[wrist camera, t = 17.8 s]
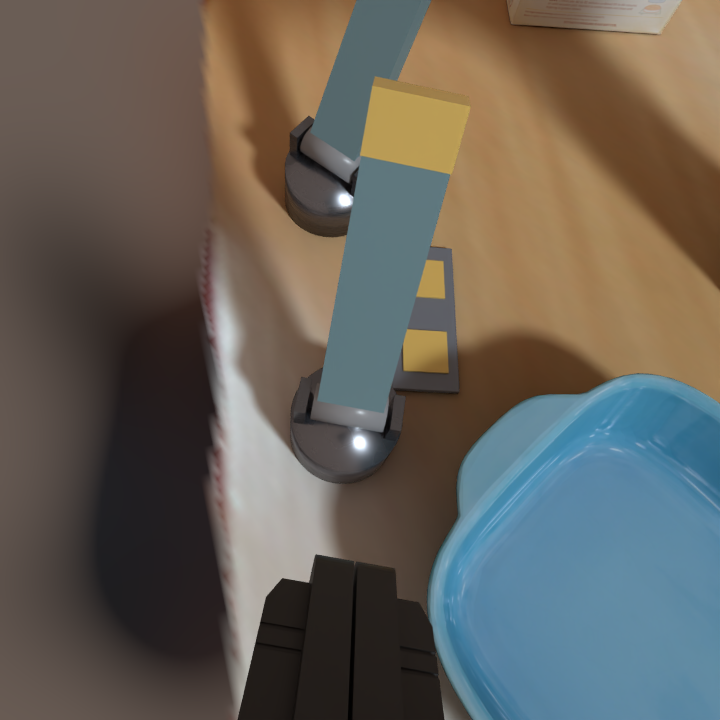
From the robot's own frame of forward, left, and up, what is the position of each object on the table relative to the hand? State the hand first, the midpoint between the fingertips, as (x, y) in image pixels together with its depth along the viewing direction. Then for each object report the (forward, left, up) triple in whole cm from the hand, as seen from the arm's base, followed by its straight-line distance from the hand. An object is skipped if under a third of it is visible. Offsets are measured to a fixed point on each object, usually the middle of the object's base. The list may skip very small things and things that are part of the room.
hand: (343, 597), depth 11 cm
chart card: (-19, -6, -24) cm, 31 cm away
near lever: (-9, -5, -19) cm, 21 cm away
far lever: (-22, -17, -19) cm, 34 cm away
